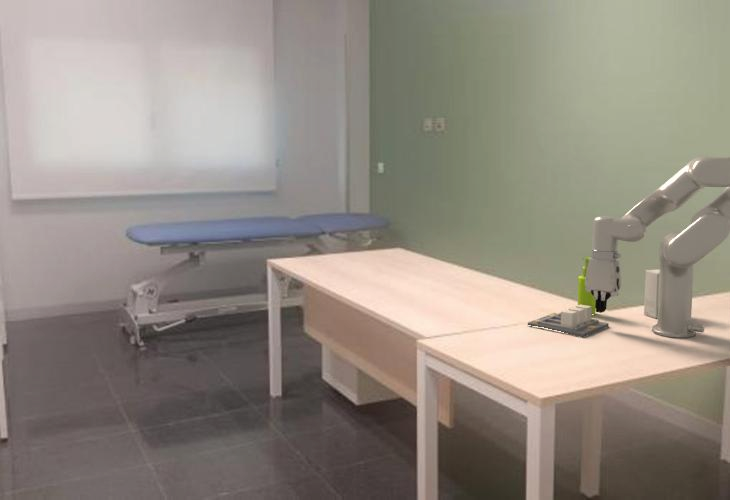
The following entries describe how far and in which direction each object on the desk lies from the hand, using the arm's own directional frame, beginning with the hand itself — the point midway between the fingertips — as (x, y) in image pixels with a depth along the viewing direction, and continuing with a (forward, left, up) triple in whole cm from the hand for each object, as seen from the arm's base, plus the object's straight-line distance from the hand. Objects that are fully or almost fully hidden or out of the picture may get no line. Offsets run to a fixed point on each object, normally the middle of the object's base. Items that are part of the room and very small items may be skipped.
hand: (600, 311), depth 218 cm
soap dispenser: (+12, -14, -6) cm, 19 cm away
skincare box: (-7, -28, -6) cm, 29 cm away
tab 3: (+6, 0, -4) cm, 8 cm away
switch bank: (+9, +4, -6) cm, 12 cm away
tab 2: (+6, +4, -4) cm, 9 cm away
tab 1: (+6, +9, -4) cm, 11 cm away
